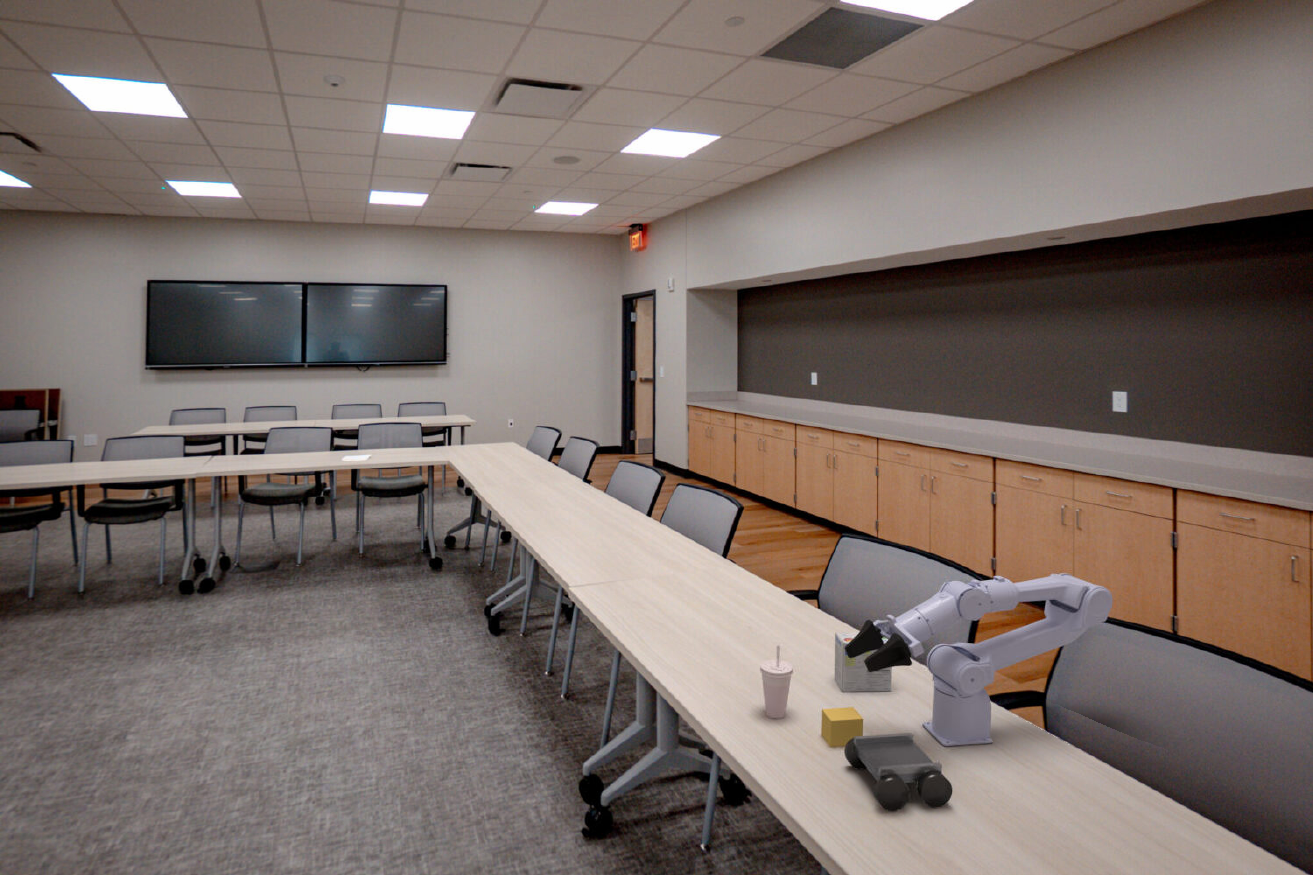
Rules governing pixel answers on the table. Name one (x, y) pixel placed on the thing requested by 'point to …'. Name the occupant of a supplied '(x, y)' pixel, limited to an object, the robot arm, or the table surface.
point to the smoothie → (776, 685)
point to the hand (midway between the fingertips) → (856, 659)
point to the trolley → (898, 769)
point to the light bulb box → (857, 668)
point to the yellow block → (841, 725)
